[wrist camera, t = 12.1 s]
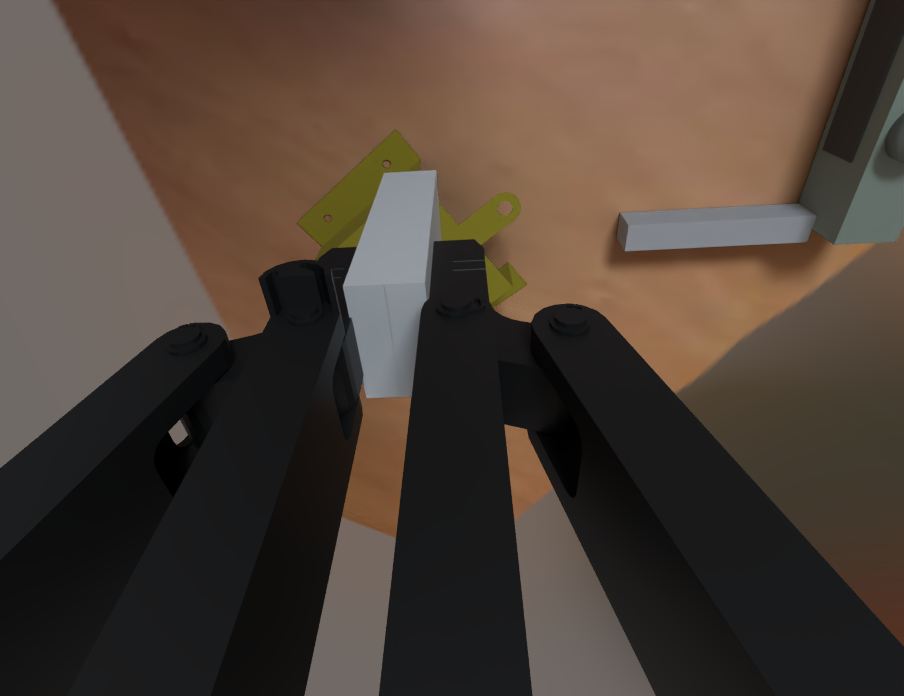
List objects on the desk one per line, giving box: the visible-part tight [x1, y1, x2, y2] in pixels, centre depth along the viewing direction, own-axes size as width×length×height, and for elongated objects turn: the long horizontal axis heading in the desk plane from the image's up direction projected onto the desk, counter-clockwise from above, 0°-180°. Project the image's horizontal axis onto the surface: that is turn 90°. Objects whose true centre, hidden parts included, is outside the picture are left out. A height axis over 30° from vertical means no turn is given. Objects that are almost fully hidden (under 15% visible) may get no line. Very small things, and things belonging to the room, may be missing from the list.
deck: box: [616, 0, 904, 251], centre depth 30 cm, size 22×17×6 cm
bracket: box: [297, 130, 527, 308], centre depth 36 cm, size 16×8×15 cm
